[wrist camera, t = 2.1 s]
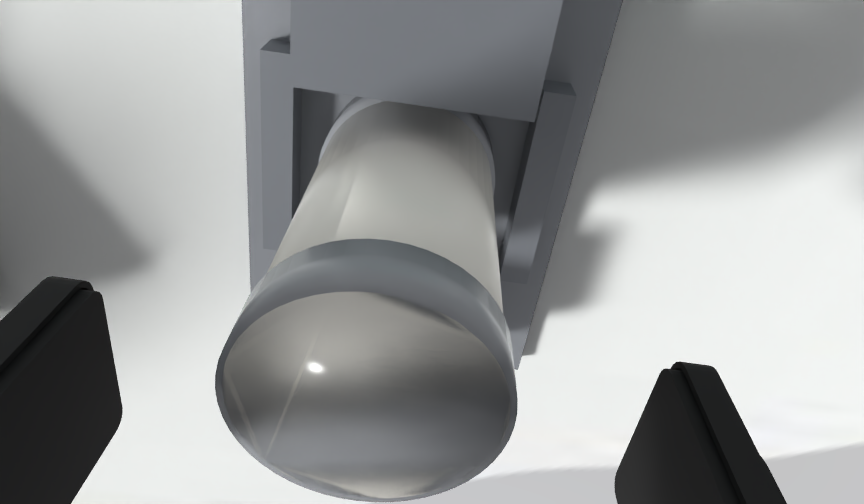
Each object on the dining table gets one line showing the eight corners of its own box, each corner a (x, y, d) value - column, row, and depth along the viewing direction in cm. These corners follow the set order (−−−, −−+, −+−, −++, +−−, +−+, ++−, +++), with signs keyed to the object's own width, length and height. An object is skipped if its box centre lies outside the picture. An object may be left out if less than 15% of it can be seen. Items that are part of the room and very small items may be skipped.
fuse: (330, 68, 16) (205, 264, 8) (508, 93, 16) (549, 310, 8) (323, 223, 18) (222, 484, 11) (477, 244, 18) (487, 516, 11)
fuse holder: (244, -167, 14) (155, -176, 10) (644, -103, 14) (716, -87, 10) (257, 323, 21) (209, 430, 17) (516, 357, 21) (528, 470, 18)
